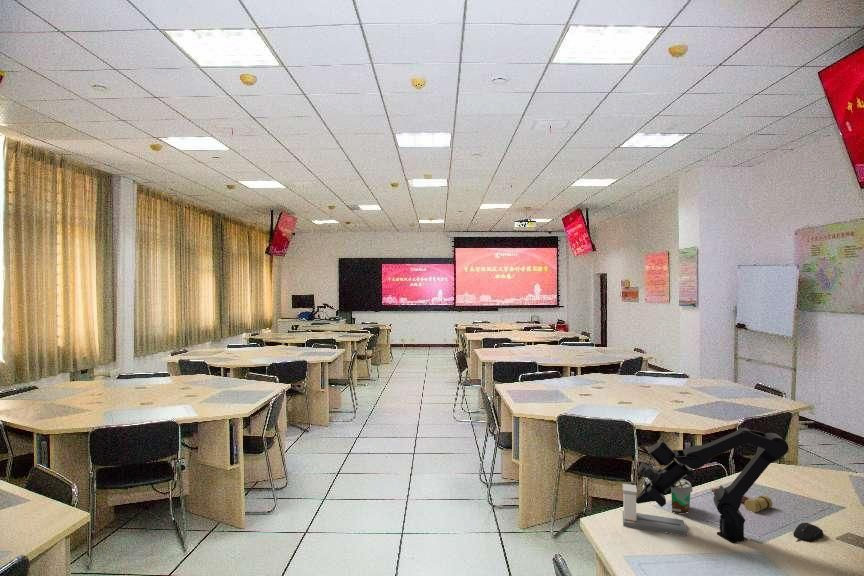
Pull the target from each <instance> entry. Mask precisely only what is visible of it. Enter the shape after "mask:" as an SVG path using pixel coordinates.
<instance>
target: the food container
mask: <svg viewBox="0 0 864 576" xmlns="http://www.w3.org/2000/svg"><path fill="white" fill-rule="evenodd" d="M692 492H693V486H692V483H691V482H690V481H689V480H687V479H684V478H682V479H681V480H680V481H678V482H677V483H676V484H675V487H674V488H673V487H671V488H670V493H671V513H673V512H675V513H674V514H679V513H685V514H687V513H686V512H688V513H689V512H690V503H691V493H692Z"/></svg>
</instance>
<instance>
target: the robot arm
mask: <svg viewBox="0 0 864 576" xmlns="http://www.w3.org/2000/svg"><path fill="white" fill-rule="evenodd" d="M745 444H750V445H753V446H756V447H757V448H756V449H757V450H756V452H755V454H754V455H753V456H752V458H751V459H750V460H749V462H748V463H747V464H746V465H745V466H744V468H743V469H742V470H741V472H740V473H739V474H738V475H737V476H736V478H734V480H733V481H732V483H731V484H729V486H726V487H724V486H723V485H720V486H719V487H718V488H719V489H718V491H717V492H713V504H714V507H715V508H716V510H717V512H718V513H719V514H720V518H719V531H717V532H716V534H717V535H718V536H719V537H721V538H722V539H723V538H724V539H725V540H727V541H729V542H730V543H733V544H736V543H741V542H746V541H748V538H747V537H745V522H746V519H745V517H744V515H743V514H742V512H741V511H740V507H741V505H742V498H743V496H745V495H746V494H747V492H748V491H749V490H750V489H751V487H752V486H753V485H754V484H755V482H756V481H757V480H758V479H759V478H760V476H761V475H762V474H763V473H764V472H765V471H766V469H767V468H768V467H769V465H771V464H772V463H774V462H777V461H779V460H780V459H782V457H784V456H786V455H787V453H789V449H790V448H789V443H788V442H787V441H786V440H785V439H783V437H781V436H780V435H778V434H777V433H774V432H766V433H765V432H762V431H758V430H753V429H749V428H746V427H741V428H738V429H737V430H736V431H732V432H730V433H729V434H726V435H724V436H721V437H720V438H718V439H715V440H712V441H710V442H707V443H706V444H700V445H692V446H688V447H686V448H684V449H673V450H672V449H671V447H670V446H669V445H668V444H667V443H666V441H664V440H661V441H660V442H657V443H654V444H653V445H652V446H651V447H650V448H649V449H648V451H647V453H648V454H649V456H651V457H652V459H654V460H655V461H656V463H657V464H659V465H660V466H664V467H663V468H658V469H655V468H654V467H652V466H651V465H649V464H647V463H646V462H643V461H642V462H640V465H639V467H638V469H637V473H638V474H639V475H640V476H643V477H644V478H646V479H648V480H647V481H646V480H643V488H642V491H641V492H640V493H639V495H637V496H636V505H637V504H645V503H651V502H656V504H658V506H659V507H661V508H663V507H664V506H666V504H667V499H666V496H665V495H666V494H667V491H669V489H671V487H673V488H674V487H675V484H676V483H677V482H678V481H680V480H681V479H684V477H686V476H688V477H689V478H690V479H691V480H694V472H695V471H694V470H699V469H701V468H702V467H703V466H705V465H707V464H708V463H709V462H710V461H711V460H712V459H713V458H715V457H716V456H717V457H718V456H719V455H722V454H724V453H726V452H728V451H732V450H734V449H736V448H739V447H740V446H743V445H745Z"/></svg>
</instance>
